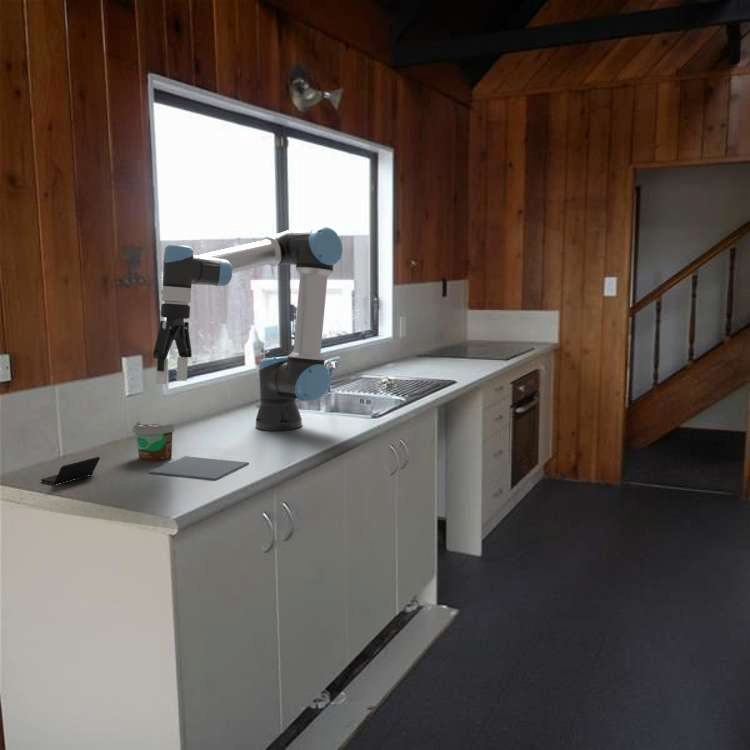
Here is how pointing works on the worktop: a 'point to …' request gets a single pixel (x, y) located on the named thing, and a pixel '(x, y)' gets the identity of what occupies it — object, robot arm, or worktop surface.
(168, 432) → the food container
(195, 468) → the mat
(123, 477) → the worktop surface
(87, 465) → the handheld gaming console
